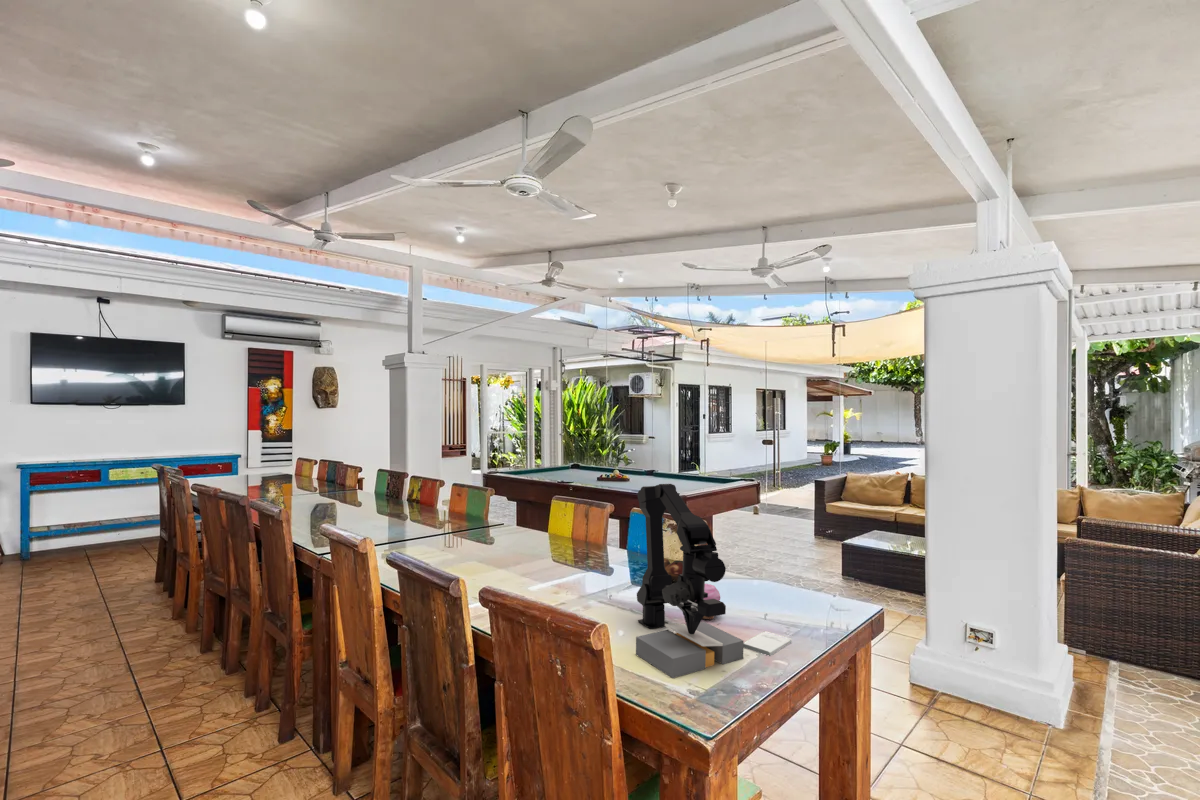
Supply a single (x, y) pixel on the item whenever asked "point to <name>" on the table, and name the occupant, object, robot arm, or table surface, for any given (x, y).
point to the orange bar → (708, 652)
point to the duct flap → (694, 635)
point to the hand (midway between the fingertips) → (691, 634)
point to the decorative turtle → (673, 568)
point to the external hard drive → (767, 643)
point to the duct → (686, 650)
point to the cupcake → (711, 595)
